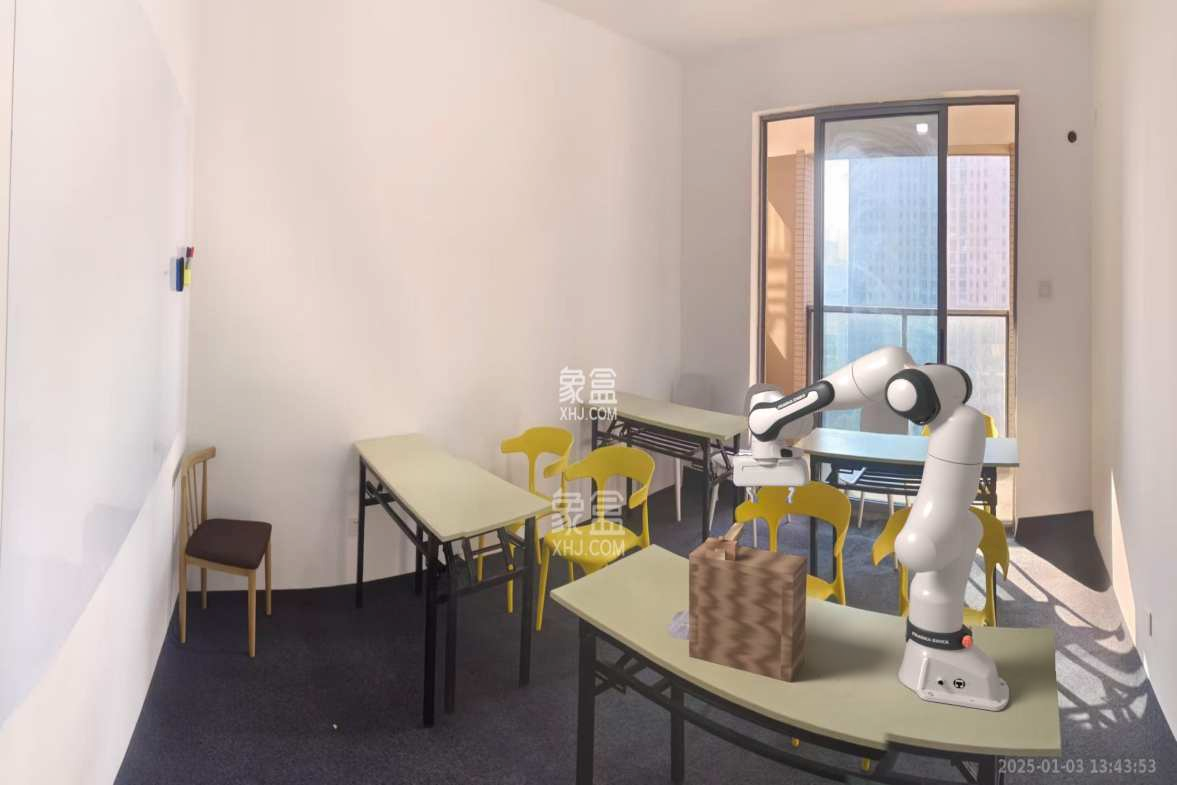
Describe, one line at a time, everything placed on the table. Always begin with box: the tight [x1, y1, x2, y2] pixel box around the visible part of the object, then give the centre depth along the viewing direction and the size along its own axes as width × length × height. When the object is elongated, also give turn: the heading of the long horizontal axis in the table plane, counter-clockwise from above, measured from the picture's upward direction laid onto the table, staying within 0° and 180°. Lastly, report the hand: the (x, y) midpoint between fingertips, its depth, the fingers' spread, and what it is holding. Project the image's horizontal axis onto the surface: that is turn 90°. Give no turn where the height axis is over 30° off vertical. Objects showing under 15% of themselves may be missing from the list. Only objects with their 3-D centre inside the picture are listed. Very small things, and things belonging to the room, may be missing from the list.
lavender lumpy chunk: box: [668, 609, 689, 641], centre depth 204 cm, size 12×5×10 cm
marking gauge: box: [705, 522, 745, 561], centre depth 191 cm, size 7×20×5 cm, turn 156°
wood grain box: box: [688, 540, 808, 683], centre depth 186 cm, size 25×11×26 cm, turn 59°
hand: (772, 503), depth 208 cm, fingers open, 8 cm apart
